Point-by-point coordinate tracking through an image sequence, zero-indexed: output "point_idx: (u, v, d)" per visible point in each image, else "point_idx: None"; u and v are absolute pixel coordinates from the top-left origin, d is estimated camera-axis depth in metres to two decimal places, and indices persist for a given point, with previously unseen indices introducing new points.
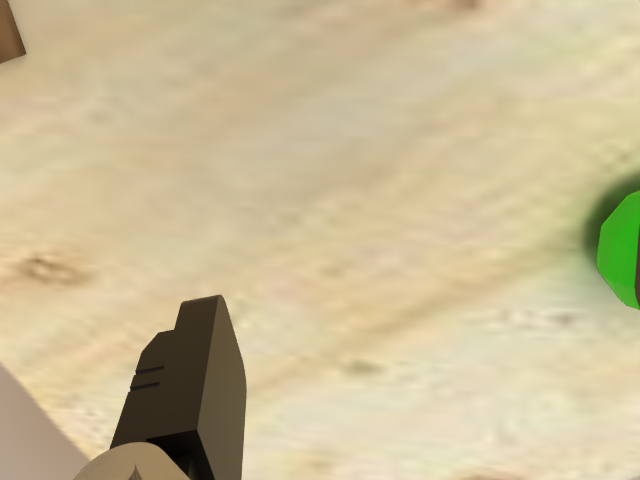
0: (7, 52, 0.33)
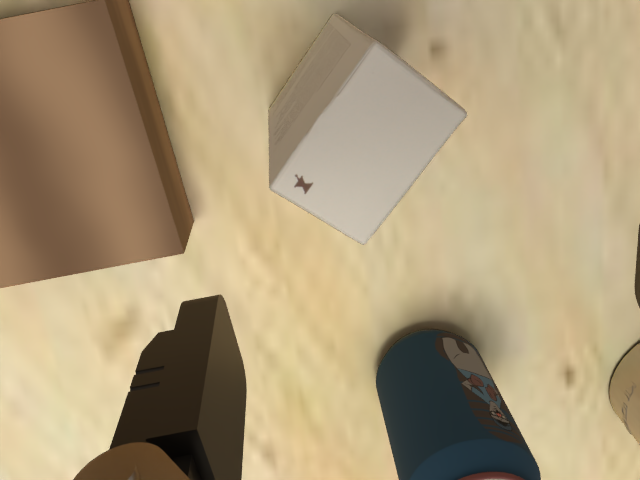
0: None
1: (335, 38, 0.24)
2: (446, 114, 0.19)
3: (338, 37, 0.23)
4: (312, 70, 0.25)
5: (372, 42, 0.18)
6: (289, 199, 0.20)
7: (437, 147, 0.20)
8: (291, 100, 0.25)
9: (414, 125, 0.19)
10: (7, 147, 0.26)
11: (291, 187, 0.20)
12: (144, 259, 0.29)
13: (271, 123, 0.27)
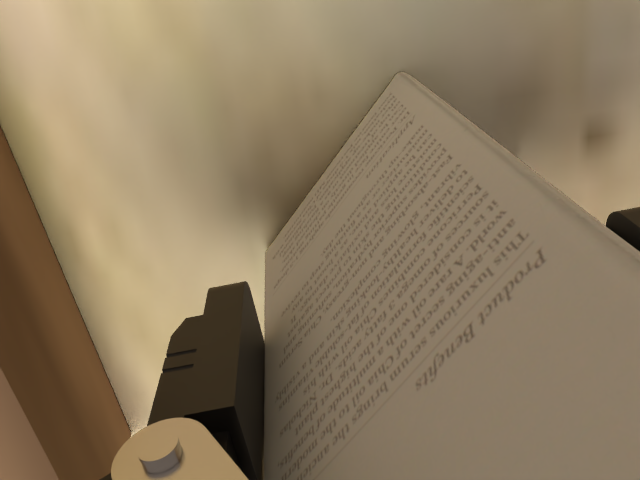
0: None
1: (436, 166, 0.09)
2: None
3: (449, 169, 0.09)
4: (372, 236, 0.10)
5: None
6: None
7: None
8: (318, 297, 0.11)
9: None
10: None
11: None
12: None
13: (270, 325, 0.12)
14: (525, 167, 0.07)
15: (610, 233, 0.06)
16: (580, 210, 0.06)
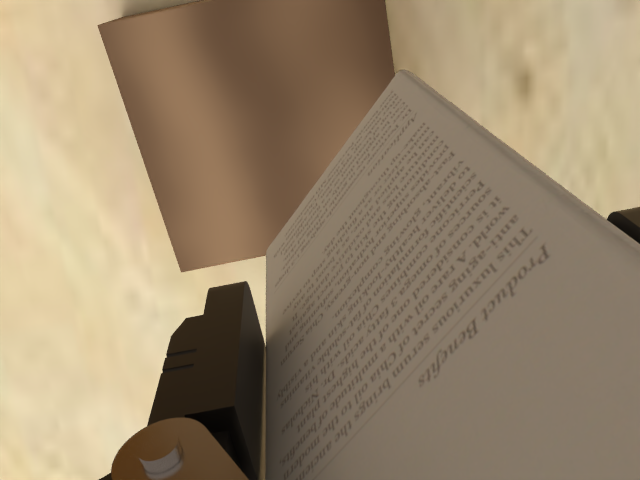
0: None
1: (438, 163, 0.09)
2: None
3: (451, 166, 0.09)
4: (374, 233, 0.10)
5: None
6: None
7: None
8: (319, 294, 0.11)
9: None
10: (261, 118, 0.26)
11: None
12: None
13: (272, 323, 0.12)
14: (528, 163, 0.07)
15: (614, 228, 0.05)
16: (584, 206, 0.06)
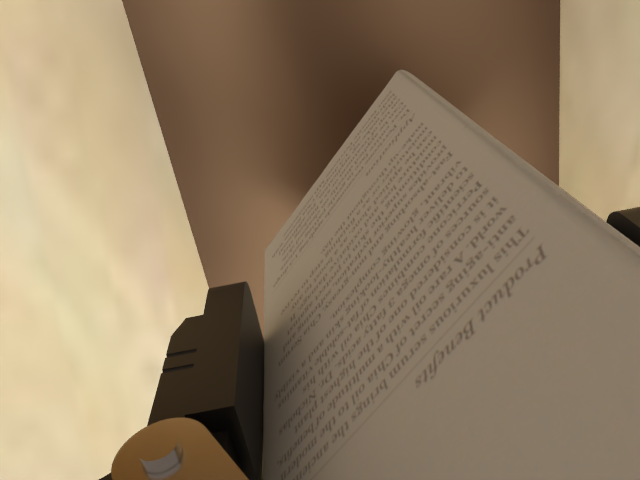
0: None
1: (436, 163, 0.09)
2: None
3: (449, 166, 0.09)
4: (372, 234, 0.10)
5: None
6: None
7: None
8: (317, 295, 0.11)
9: None
10: None
11: None
12: None
13: (270, 323, 0.12)
14: (525, 163, 0.07)
15: (611, 229, 0.05)
16: (581, 206, 0.06)
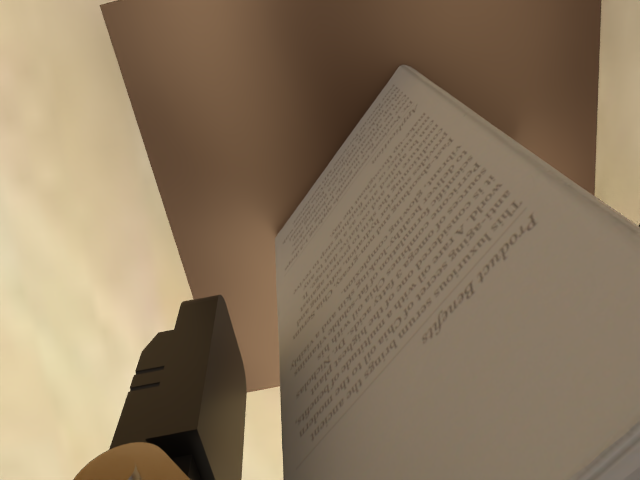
0: None
1: (438, 148, 0.10)
2: None
3: (450, 150, 0.10)
4: (379, 215, 0.11)
5: None
6: None
7: None
8: (328, 273, 0.11)
9: None
10: None
11: None
12: None
13: (283, 302, 0.13)
14: (519, 145, 0.08)
15: (592, 197, 0.06)
16: (567, 179, 0.07)
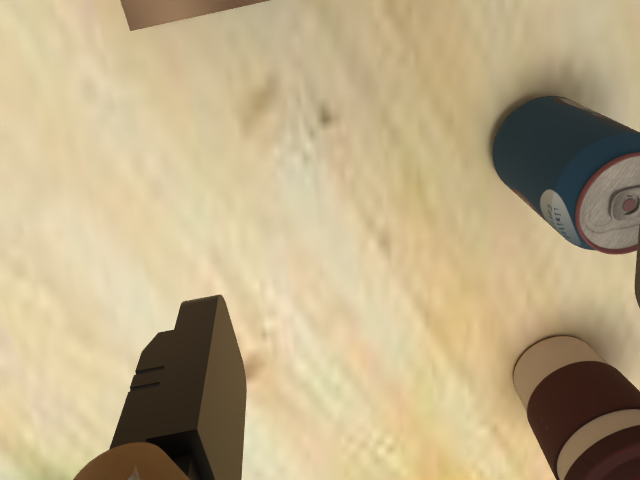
0: None
1: None
2: None
3: None
4: None
5: None
6: None
7: None
8: None
9: None
10: None
11: None
12: None
13: None
14: None
15: None
16: None
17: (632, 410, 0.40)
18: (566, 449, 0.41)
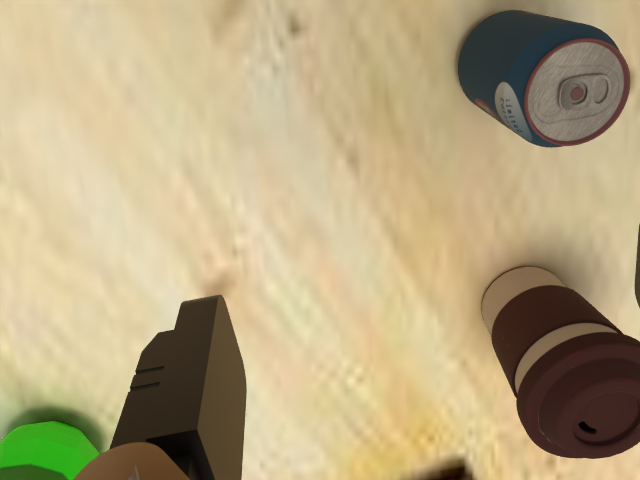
0: None
1: None
2: None
3: None
4: None
5: None
6: None
7: None
8: None
9: None
10: None
11: None
12: None
13: None
14: None
15: None
16: None
17: (589, 324, 0.41)
18: (523, 361, 0.41)
